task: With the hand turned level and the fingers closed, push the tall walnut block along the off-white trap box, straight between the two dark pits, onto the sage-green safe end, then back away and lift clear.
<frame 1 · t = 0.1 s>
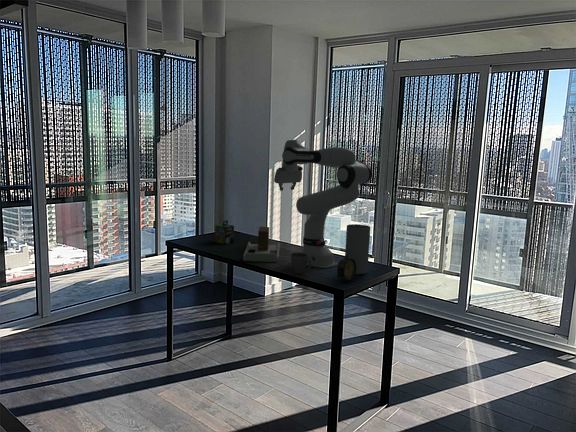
hand: (286, 190, 290), 39 cm above the table, tool pointing down, fingers open, 8 cm apart
mug: (301, 273, 257), on the table
walnut block: (263, 247, 303), point 1 cm above the table, touching trap box
chalk box: (224, 242, 321), on the table
cylinder vase: (355, 272, 263), on the table
trap box: (262, 253, 295), on the table
alarm clock: (345, 281, 245), on the table
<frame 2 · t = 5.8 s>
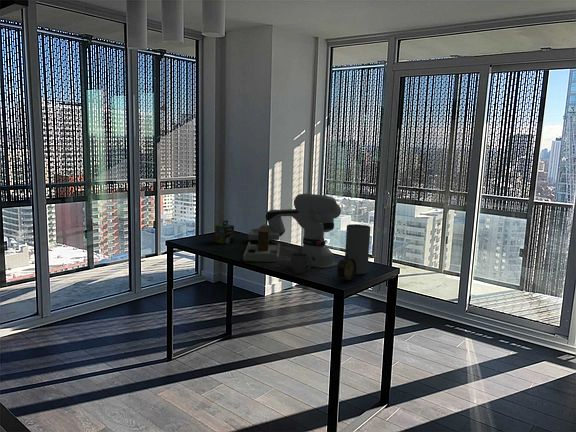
hand: (263, 239, 309), 6 cm above the table, tool horizontal, fingers closed, pressing on walnut block
walnut block: (263, 248, 302), point 1 cm above the table, touching gripper, trap box
everything else where it was.
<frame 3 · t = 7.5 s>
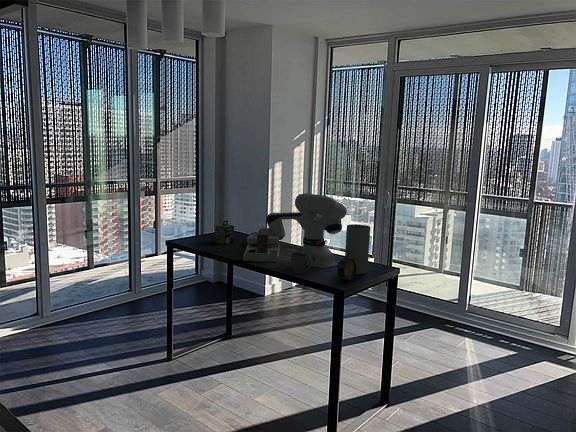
hand: (262, 243, 299), 5 cm above the table, tool horizontal, fingers closed
walnut block: (262, 251, 293), point 2 cm above the table, touching gripper, trap box
everything else where it was.
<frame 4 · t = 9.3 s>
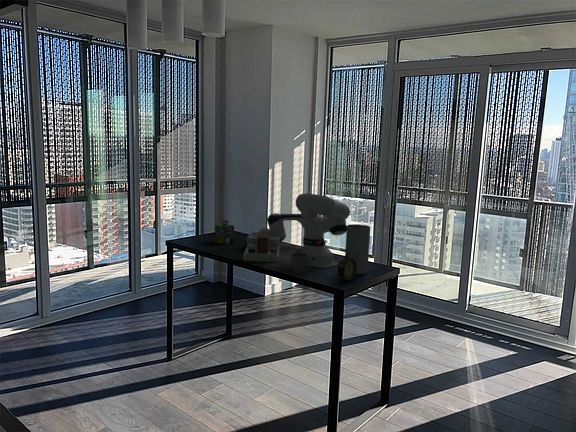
hand: (262, 243, 292), 7 cm above the table, tool horizontal, fingers closed, pressing on walnut block
walnut block: (262, 254, 286), point 1 cm above the table, touching gripper, trap box
everything else where it was.
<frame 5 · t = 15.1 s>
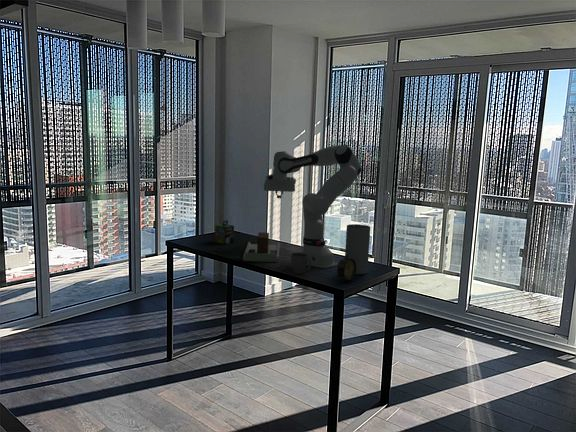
hand: (279, 198, 313), 31 cm above the table, tool pointing down, fingers closed
walnut block: (262, 254, 286), point 1 cm above the table, touching trap box
everything else where it was.
at the end: walnut block inside the target area on the trap box (1.5 cm from its centre), point 1.5 cm above the trap box's base; walnut block tilted 0°; walnut block point 1.5 cm above the table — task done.
